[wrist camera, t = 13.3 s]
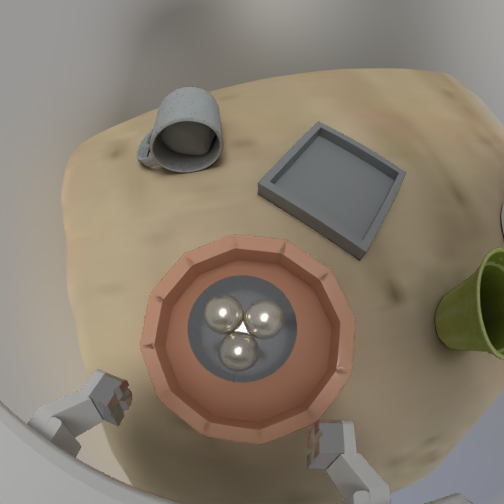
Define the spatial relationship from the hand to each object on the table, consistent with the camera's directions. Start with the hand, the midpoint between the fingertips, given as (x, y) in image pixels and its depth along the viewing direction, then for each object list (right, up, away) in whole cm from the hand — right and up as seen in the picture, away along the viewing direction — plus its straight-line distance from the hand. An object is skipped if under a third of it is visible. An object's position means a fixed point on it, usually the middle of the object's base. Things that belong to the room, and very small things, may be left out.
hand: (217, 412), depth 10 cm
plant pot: (+23, -1, +12) cm, 26 cm away
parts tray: (+10, +14, +18) cm, 25 cm away
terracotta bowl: (+1, -1, +12) cm, 13 cm away
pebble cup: (+1, -1, +12) cm, 12 cm away
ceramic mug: (-7, +19, +21) cm, 29 cm away
